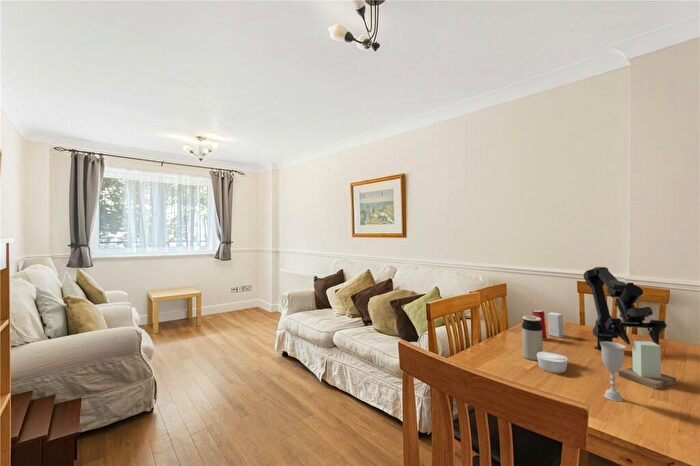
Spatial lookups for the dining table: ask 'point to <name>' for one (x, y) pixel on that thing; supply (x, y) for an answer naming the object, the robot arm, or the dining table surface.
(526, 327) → the travel mug
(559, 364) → the ramekin
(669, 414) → the dining table surface
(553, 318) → the skincare box
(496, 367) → the dining table surface
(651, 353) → the sage block
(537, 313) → the beverage can
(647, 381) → the walnut board
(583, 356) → the dining table surface
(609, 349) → the chalice
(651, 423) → the dining table surface
